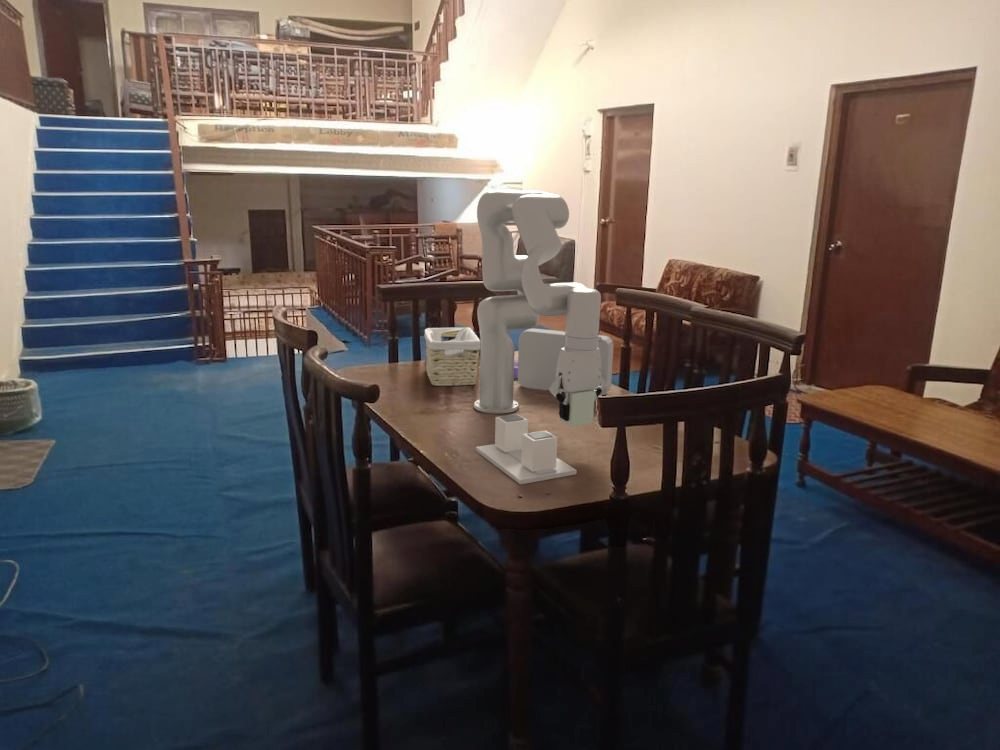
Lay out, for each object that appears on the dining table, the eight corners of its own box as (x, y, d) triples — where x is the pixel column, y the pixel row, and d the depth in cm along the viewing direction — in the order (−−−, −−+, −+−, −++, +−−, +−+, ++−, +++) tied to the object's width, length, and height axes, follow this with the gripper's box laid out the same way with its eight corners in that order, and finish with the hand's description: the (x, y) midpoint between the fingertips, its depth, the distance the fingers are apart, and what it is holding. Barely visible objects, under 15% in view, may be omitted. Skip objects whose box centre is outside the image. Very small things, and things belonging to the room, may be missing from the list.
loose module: (559, 420, 173) (561, 386, 171) (581, 417, 176) (583, 384, 174) (570, 426, 169) (573, 392, 167) (592, 423, 172) (595, 390, 169)
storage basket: (423, 369, 249) (423, 326, 245) (470, 368, 252) (471, 326, 248) (429, 388, 226) (428, 341, 222) (481, 387, 229) (481, 340, 225)
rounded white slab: (612, 392, 226) (616, 335, 221) (605, 398, 219) (609, 339, 215) (526, 381, 237) (527, 326, 232) (517, 386, 230) (518, 330, 225)
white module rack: (475, 450, 174) (476, 415, 172) (527, 442, 180) (528, 408, 178) (520, 484, 155) (521, 445, 153) (576, 474, 161) (578, 436, 159)
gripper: (603, 336, 174) (597, 408, 179) (540, 342, 167) (536, 417, 171) (621, 343, 168) (615, 418, 173) (557, 349, 160) (552, 427, 165)
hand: (576, 416), depth 172 cm, fingers closed on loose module, 6 cm apart
